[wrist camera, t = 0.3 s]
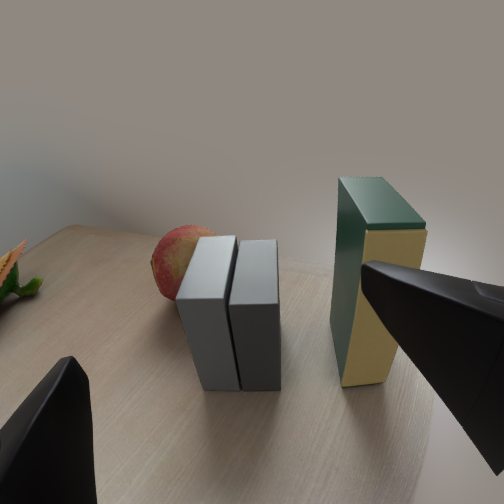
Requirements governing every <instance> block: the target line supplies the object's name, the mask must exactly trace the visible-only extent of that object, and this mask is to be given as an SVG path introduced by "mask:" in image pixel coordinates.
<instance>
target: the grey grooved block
mask: <svg viewBox="0 0 504 504" xmlns="http://www.w3.org/2000/svg"><path fill="white" fill-rule="evenodd" d="M175 300H176V304H177V307H178V311H179V314H180V318H181V321H182V325H183V328H184V331H185V335H186V338H187V341H188V345H189V348H190V351H191V354H192V357H193V360H194V364H195V367H196V370H197V373H198V376H199V379H200V382H201V385H202V388H203V390H225V391H240V385H241V384H242V389H243V391H280V390H281V339H280V300H279V272H278V248H277V240H276V239H273V240H249V241H240V242H239V248H238V246H237V237H236V236H214V237H200V238H199V241H198V243H197V246H196V248H195V251H194V253H193V256H192V258H191V260H190V263H189V265H188V268H187V271H186V273H185V276H184V278H183V281H182V283H181V286H180V288H179V291H178V294H177V296H176V299H175Z"/></svg>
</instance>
